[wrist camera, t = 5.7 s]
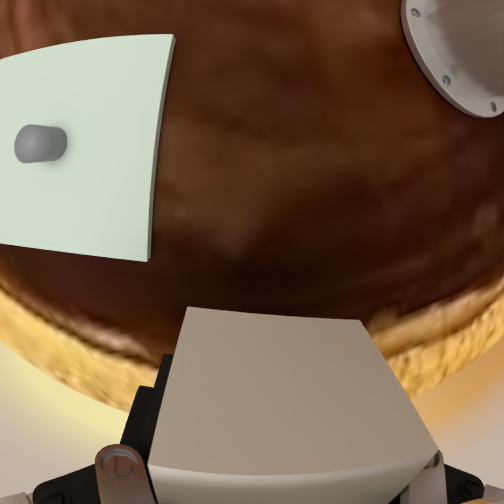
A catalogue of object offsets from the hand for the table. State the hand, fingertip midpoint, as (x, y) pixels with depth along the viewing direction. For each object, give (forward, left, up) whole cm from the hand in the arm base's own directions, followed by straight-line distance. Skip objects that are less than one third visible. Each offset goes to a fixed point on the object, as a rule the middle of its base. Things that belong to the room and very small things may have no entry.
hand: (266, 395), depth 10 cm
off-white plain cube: (0, 0, -1) cm, 1 cm away
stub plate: (+13, -8, -10) cm, 19 cm away
